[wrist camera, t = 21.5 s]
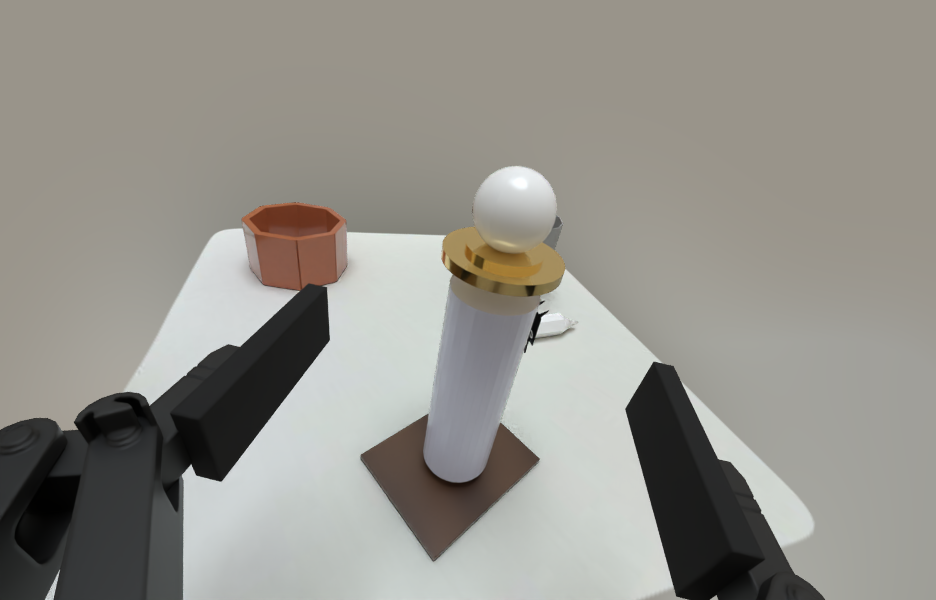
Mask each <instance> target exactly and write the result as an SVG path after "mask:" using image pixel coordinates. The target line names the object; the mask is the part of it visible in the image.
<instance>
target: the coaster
mask: <svg viewBox="0 0 936 600" xmlns="http://www.w3.org/2000/svg"><path fill="white" fill-rule="evenodd" d="M428 415H429V414H427V415H426V416H424V417H422V418H421V419H419V420H417V421H416V422H414V423H412V424H411V425H409V426H407V427H406V428H404V429H402V430H401V431H399V432H398V433H396V434H394V435H393V436H391V437H389V438H388V439H386V440H384V441H383V442H381V443H379V444H378V445H376V446H374V447H373V448H371V449H370V450H368V451H366V452H365V453H363V454H361V459H362V461H363V462H364V464H365V465H366V466H367V468H368V469H369V471H370V472H371V474H372V475H373V476H374V478H375V479H376V481H377V482H378V483H379V485H380V486H381V488H382V489H383V491H384V492H385V493H386V495H387V496H388V498H389V499H390V500H391V502H392V503H393V505H394V506H395V507H396V509H397V510H398V512H399V513H400V515H401V516H402V517H403V519H404V520H405V522H406V523H407V524H408V526H409V527H410V529H411V530H412V531H413V533H414V534H415V536H416V537H417V539H418V540H419V541H420V543H421V544H422V546H423V547H424V548H425V550H426V551H427V553H428V554H429V556H430V557H431V558H432V560H433V561H435V560H436V559H437V558H438V557H439V556H440V555H441V554H442V553H443V552H444V551H445V550H446V549H447V548H448V547H449V546H450V545H451V544H453V543H454V542H455V541H456V540H457V539H458V538H459V537H460V536H461V535H462V534H463V533H464V532H465V531H466V530H467V529H468V528H469V527H470V526H472V525H473V524H474V523H475V522H476V521H477V520H478V519H479V518H480V517H481V516H482V515H483V514H484V513H485V512H486V511H487V510H488V509H489V508H491V507H492V506H493V505H494V504H495V503H496V502H497V501H498V500H499V499H500V498H501V497H502V496H503V495H504V494H505V493H506V492H507V491H508V490H510V489H511V488H512V487H513V486H514V485H515V484H516V483H517V482H518V481H519V480H520V479H521V478H522V477H523V476H524V475H525V474H526V473H527V472H529V471H530V470H531V469H532V468H533V467H534V466H535V465H536V464H537V463H538V462H539V460H540V459H539V458H538V457H537V456H536V455H535V454H534V453H533V452H532V451H531V450H530V449H528V448H527V447H526V446H525V445H524V444H523V443H522V442H521V441H520V440H519V439H518V438H517V437H516V436H515V435H513V434H512V433H511V432H510V431H509V430H508V429H507V428H506V427H505V426H504V425H503V424H502V423H501V422H500V425H499V428H498V431H497V434H496V437H495V440H494V443H493V446H492V449H491V452H490V455H489V458H488V461H487V464H486V467H485V468H484V470H483V471H482V473H481V474H480V475H479V476H477V477H476V478H474V479H472V480H470V481H467V482H460V483H459V482H450V481H446V480H444V479H442V478H440V477H438V476H437V475H435V474H434V473H433V472H432V471H431V470H430V469H429V467H428V465H427V464H426V461H425V459H424V454H423V446H424V440H425V433H426V427H427V421H428Z"/></svg>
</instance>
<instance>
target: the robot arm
mask: <svg viewBox="0 0 936 600" xmlns="http://www.w3.org/2000/svg"><path fill="white" fill-rule="evenodd" d="M329 340H330V335H329V317H328V298H327V287H323V286H319V285H314V284H310V283H308V284H307V285H306V286H305V287H304V288H303V289H302V290H301V291H300V292H299V293H297V294H296V295H295V296H294V297H293V298H292V299H291V300H290V301H289V302H288V303H287V304H286V305H285V306H284V307H282V308H281V309H280V310H279V311H278V312H277V313H276V314H275V315H274V316H273V317H272V318H271V319H270V320H268V321H267V322H266V323H265V324H264V325H263V326H262V327H261V328H260V329H259V330H258V331H257V332H256V333H255V334H253V335H252V336H251V337H250V338H249V339H248V340H247V341H246V342H245V343H244V344H243V345H242V346H241V347H237V346H233V345H229V344H228V345H226V346H224V347H222V348H220V349H218V350H216V351H214V352H212V353H210V354H209V355H208V356H207V357H206V358H204V359H203V360H202V361H201V362H200V363H199V364H198V366H197V367H194V368H193V369H192V370H191V371H189V372H188V373H187V375H186V376H184V377H182V378H181V379H180V380H179V381H178V382H177V383H176V384H174V385H173V386H172V387H171V388H170V389H169V390H167V391H166V392H165V393H164V394H163V395H162V396H161V397H159V398H158V399H157V400H156V401H155V402H154V403H152V404H151V405H150V406H149V404H148V402H147V400H146V398H145V397H144V396H142V395H141V394H139V393H132V392H124V393H116V394H113V395H110V396H107V397H104V398H101V399H99V400H97V401H96V402H94V403H92V404H90V405H88V406H87V407H86V408H85V409H84V410H83V411H81V412H80V413H79V414H78V416H77V418H76V420H75V421H74V423H75V425H76V426H77V428H78V430H71V431H70V430H69V431H62V430H61V429H60V427H59V426H58V425H57V423H56V422H55V421H53V420H51V419H48V418H33V419H29V420H24V421H20V422H17V423H15V424H12V425H10V426H7V427H5V428H3V429H1V430H0V600H45V598H46V596H47V594H48V592H49V590H50V588H51V586H52V584H53V582H54V580H55V578H56V576H57V574H58V572H59V570H60V573H59V577H58V582H57V586H56V590H55V595H54V599H53V600H183V478H182V474H183V473H184V472H185V471H186V469H187V468H188V467H189V466H190V465H191V464H192V467H193V469H194V471H195V474H196V476H200V477H204V478H208V479H212V480H216V481H220V482H222V480H223V479H224V478H225V477H226V475H227V474H228V473H229V471H230V470H231V469H232V467H233V466H234V465H235V463H236V462H237V461H238V460H239V458H240V457H241V456H242V454H243V453H244V452H245V450H246V449H247V448H248V446H249V445H250V444H251V443H252V441H253V440H254V439H255V437H256V436H257V435H258V433H259V432H260V431H261V429H262V428H263V427H264V426H265V424H266V423H267V422H268V420H269V419H270V418H271V416H272V415H273V414H274V412H275V411H276V410H277V409H278V407H279V406H280V405H281V403H282V402H283V401H284V399H285V398H286V397H287V395H288V394H289V393H290V391H291V390H292V389H293V388H294V386H295V385H296V384H297V382H298V381H299V380H300V378H301V377H302V376H303V374H304V373H305V372H306V371H307V369H308V368H309V367H310V365H311V364H312V363H313V361H314V360H315V359H316V357H317V356H318V355H319V354H320V352H321V351H322V350H323V348H324V347H325V346H326V344H327V343H328V342H329ZM625 410H626V414H627V417H628V421H629V425H630V428H631V432H632V436H633V439H634V443H635V447H636V450H637V454H638V458H639V461H640V465H641V469H642V472H643V476H644V480H645V483H646V487H647V491H648V494H649V498H650V502H651V505H652V509H653V513H654V516H655V520H656V524H657V527H658V531H659V535H660V538H661V542H662V546H663V549H664V553H665V557H666V560H667V564H668V568H669V571H670V575H671V579H672V582H673V586H674V590H675V593H676V596H677V597H680V598H685V599H688V600H710V599H711V598H713V597H714V596H716V595H717V597H718V600H825V599H824V598H823V596H822V595H821V594H820V593H819V592H818V591H817V590H816V589H815V588H814V587H813V586H812V585H811V584H810V583H808V582H807V581H805V580H804V579H802V578H800V577H799V576H797V575H795V574H794V572H793V571H792V569H791V567H790V565H789V563H788V561H787V559H786V557H785V555H784V553H783V552H782V550H781V548H780V546H779V544H778V542H777V540H776V538H775V536H774V534H773V532H772V530H771V528H770V527H769V525H768V523H767V521H766V519H765V517H764V515H763V514H761V509H760V507H759V505H758V503H757V502H756V500H754V498H753V497H754V496H753V494H752V492H751V490H750V488H749V486H748V484H747V482H746V480H745V479H744V477H743V476H742V475H741V474H740V473H739V472H738V471H737V469H736V468H735V467H734V466H733V465H732V464H731V462H728V461H723V460H719V459H718V458H717V456H716V454H715V452H714V450H713V448H712V446H711V444H710V442H709V439H708V437H707V435H706V433H705V431H704V429H703V427H702V425H701V423H700V421H699V418H698V416H697V414H696V412H695V410H694V408H693V406H692V404H691V402H690V400H689V398H688V395H687V393H686V391H685V389H684V387H683V385H682V383H681V381H680V379H679V377H678V374H677V372H676V370H675V368H674V366H671V365H666V364H662V363H657V362H653V364H652V365H651V367H650V369H649V370H648V372H647V374H646V375H645V377H644V379H643V380H642V382H641V384H640V385H639V387H638V389H637V390H636V392H635V394H634V395H633V397H632V399H631V400H630V402H629V404H628V405H627V407H626V409H625Z"/></svg>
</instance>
